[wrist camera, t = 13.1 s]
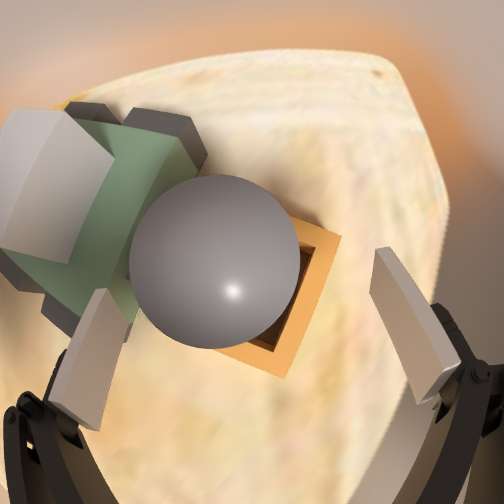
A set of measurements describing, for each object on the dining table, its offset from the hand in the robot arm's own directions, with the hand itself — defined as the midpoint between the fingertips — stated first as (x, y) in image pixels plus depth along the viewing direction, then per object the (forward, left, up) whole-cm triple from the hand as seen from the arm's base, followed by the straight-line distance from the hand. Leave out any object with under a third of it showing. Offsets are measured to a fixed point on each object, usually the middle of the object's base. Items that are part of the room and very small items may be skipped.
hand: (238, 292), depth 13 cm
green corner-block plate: (-10, +1, -10) cm, 14 cm away
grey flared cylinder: (-1, +1, -10) cm, 10 cm away
